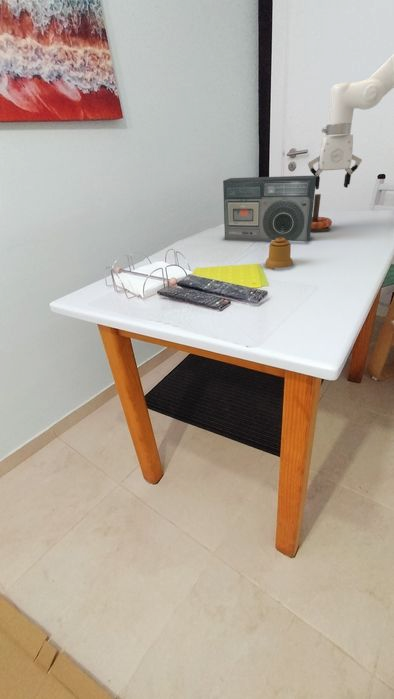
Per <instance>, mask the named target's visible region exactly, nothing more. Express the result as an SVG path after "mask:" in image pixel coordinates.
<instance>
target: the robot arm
mask: <svg viewBox="0 0 394 699" xmlns="http://www.w3.org/2000/svg"><path fill="white" fill-rule="evenodd" d="M393 89H394V53H393V54H392V55H391V56H390V57H389V58H388V59H387V60H386V61H385V62H384V63H383V64H382V65H381V66H380V67H379V68H378V69H376V71H374V72H373V73H372V74H371V75H370V76H369V77H368V78H366V79H363V80H359V81H346V82H339V83H336V84H333V86H332V87H331V89H330V94H329V105H328V111H327V119H326V120H327V122H326V125H325V126H324V127H321V133H322V134H325V136H323V137H322V141H321V145H320V151H319V156H317V157H315V158H314V159H311V161H309V162H307V165H308V168H309V171H310V172H311V173H312V176H315V175H317V176H316V185H315V190H319V188H320V180H321V176H320V175H321V174H322V173H323V171H340V170H344V171H345V172H346V173H345V174H344V180H343V187H344V188H346V189H347V188H348V187H349V186H350V183H351V179H352V178H351V177H352V174H353V173H354V172H355V171H356V170H358V168H359V166H360V164H361V163H362V161H363V159H362V158H360V157H358V156H356V155H355V154H353V151H354V150H353V149H354V134H351V130H352V123H353V118H354V116H353V115H354V109H359V110H362V111H366V110H370V109H372V108H374V107H376V106H377V105H378V104H380V102H381V101H382V100H383V98H384V97H385V96H386V95H388V93H389V92H391V90H393ZM352 161H354V162H355V163H354V165H352ZM315 164H317V167H318V168H317V169H315V168H314V165H315ZM351 165H352V166H351Z"/></svg>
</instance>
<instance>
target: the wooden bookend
mask: <svg viewBox="0 0 394 699" xmlns="http://www.w3.org/2000/svg"><path fill="white" fill-rule="evenodd" d="M321 196H322V195H321V193H315V195H314V204H313V214H312V217H313V218H312V222H318V217H319V214H320V205H321ZM324 232H325V233H326V232H330V228H329V227H327V228H322V229H311V233H324Z"/></svg>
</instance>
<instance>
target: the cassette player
mask: <svg viewBox="0 0 394 699" xmlns="http://www.w3.org/2000/svg"><path fill="white" fill-rule="evenodd" d="M316 176H317V175H315V176H314V175H288V176H283V175H282V176H261V177H260V176H258V177H257V176H256V177H255V176H254V177H252V176H251V177H230V178H227V179H224V180H222V185H223V186H222V188H223V189H222V190H223V222H224V223H223V225H224V241H239V242H240V241H242V242H260V243H261V242H262V243H263V242H264V243H272V241H274V240H275V239H276V238H285V239H286V240H287V241H289V242H308V240H309V239H310V237H311V233H312V232H311V224H312V217H313V209H314V199H315V194H316V188H315V185H316Z"/></svg>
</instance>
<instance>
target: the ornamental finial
mask: <svg viewBox="0 0 394 699" xmlns="http://www.w3.org/2000/svg"><path fill="white" fill-rule="evenodd" d="M291 250H292V243H290V241H287V240H286V239H285V238H276V239H275V240H271V242H269V248H268V257H267V258H266V260H265V266H266V268H267V269H269V270H276V269H279V268H281V269H282V268H287V267H291V266H292V265H293V264H294V262H293V258H292V257H291ZM275 268H276V269H275Z"/></svg>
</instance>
